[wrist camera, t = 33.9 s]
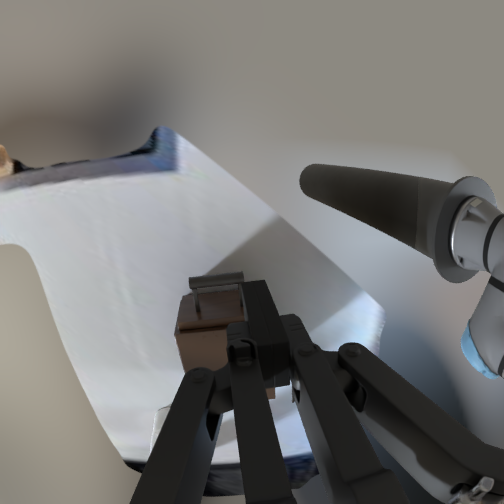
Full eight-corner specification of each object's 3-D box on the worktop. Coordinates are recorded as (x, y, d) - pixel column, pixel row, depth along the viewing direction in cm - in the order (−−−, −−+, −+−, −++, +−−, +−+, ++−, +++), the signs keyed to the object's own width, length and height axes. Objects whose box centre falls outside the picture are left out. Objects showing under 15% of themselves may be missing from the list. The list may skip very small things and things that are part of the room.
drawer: (176, 265, 41) (169, 288, 34) (254, 256, 42) (262, 277, 35) (197, 363, 47) (196, 394, 40) (262, 355, 48) (270, 385, 41)
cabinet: (180, 300, 44) (173, 334, 35) (260, 290, 45) (271, 323, 36) (196, 369, 49) (195, 407, 40) (265, 361, 50) (275, 398, 41)
